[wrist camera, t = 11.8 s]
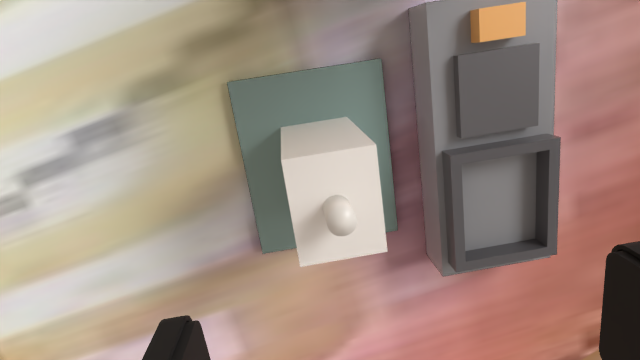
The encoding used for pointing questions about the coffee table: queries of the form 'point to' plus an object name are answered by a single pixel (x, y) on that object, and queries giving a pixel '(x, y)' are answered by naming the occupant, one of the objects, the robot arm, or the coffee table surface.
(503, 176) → the power strip
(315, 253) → the block
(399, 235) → the coffee table surface
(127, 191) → the coffee table surface
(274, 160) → the mat
